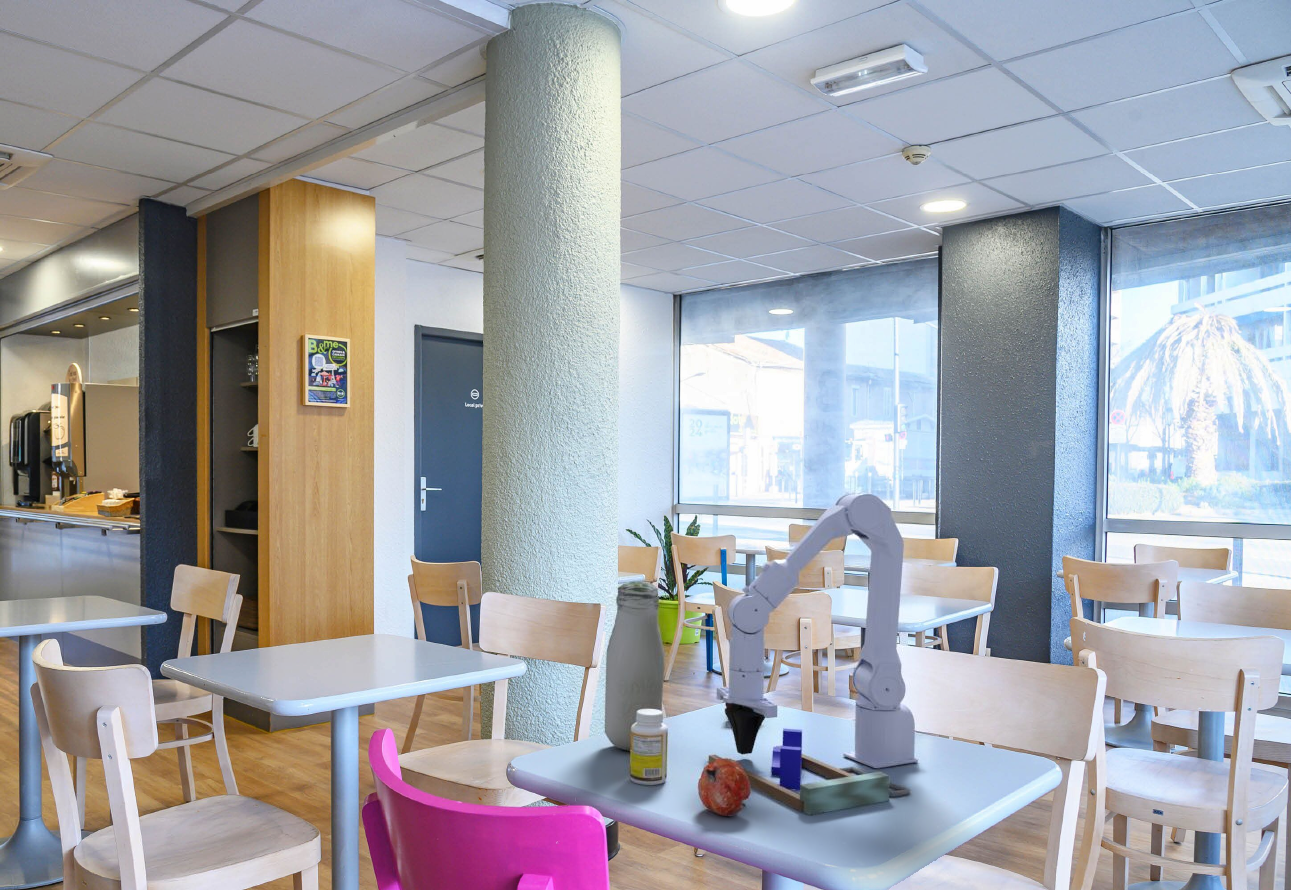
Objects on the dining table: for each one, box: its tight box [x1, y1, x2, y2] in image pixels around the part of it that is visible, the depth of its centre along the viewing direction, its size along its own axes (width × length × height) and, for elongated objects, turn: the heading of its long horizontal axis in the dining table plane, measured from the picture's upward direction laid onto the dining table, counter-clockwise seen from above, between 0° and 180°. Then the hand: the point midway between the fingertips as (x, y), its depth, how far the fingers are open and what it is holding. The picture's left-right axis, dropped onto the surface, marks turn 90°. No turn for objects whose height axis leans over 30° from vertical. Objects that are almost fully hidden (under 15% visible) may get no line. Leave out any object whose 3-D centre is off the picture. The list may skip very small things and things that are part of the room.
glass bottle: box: [604, 580, 666, 751], centre depth 155 cm, size 10×10×28 cm
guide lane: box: [707, 745, 890, 816], centre depth 139 cm, size 15×25×4 cm, turn 29°
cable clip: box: [770, 728, 803, 791], centre depth 141 cm, size 12×4×6 cm, turn 169°
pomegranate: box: [697, 757, 751, 817], centre depth 125 cm, size 7×7×10 cm
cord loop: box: [839, 766, 911, 798], centre depth 139 cm, size 4×13×1 cm, turn 29°
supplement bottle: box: [629, 709, 669, 786], centre depth 138 cm, size 6×6×10 cm
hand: (744, 752), depth 150 cm, fingers closed
